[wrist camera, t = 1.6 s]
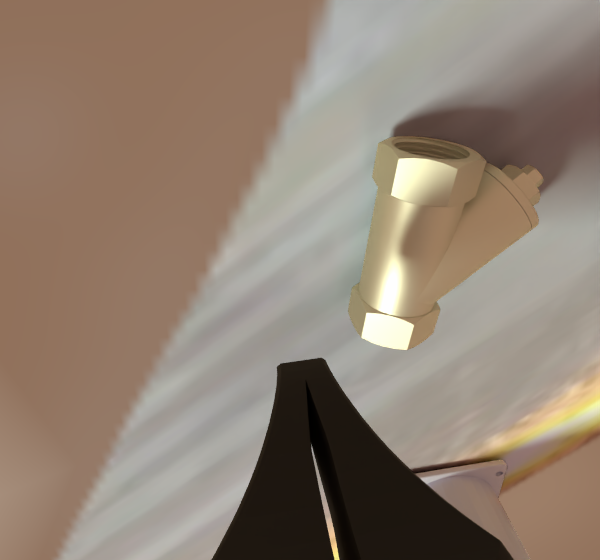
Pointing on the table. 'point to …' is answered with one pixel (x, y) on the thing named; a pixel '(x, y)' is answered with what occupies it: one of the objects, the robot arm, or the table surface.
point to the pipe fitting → (433, 232)
